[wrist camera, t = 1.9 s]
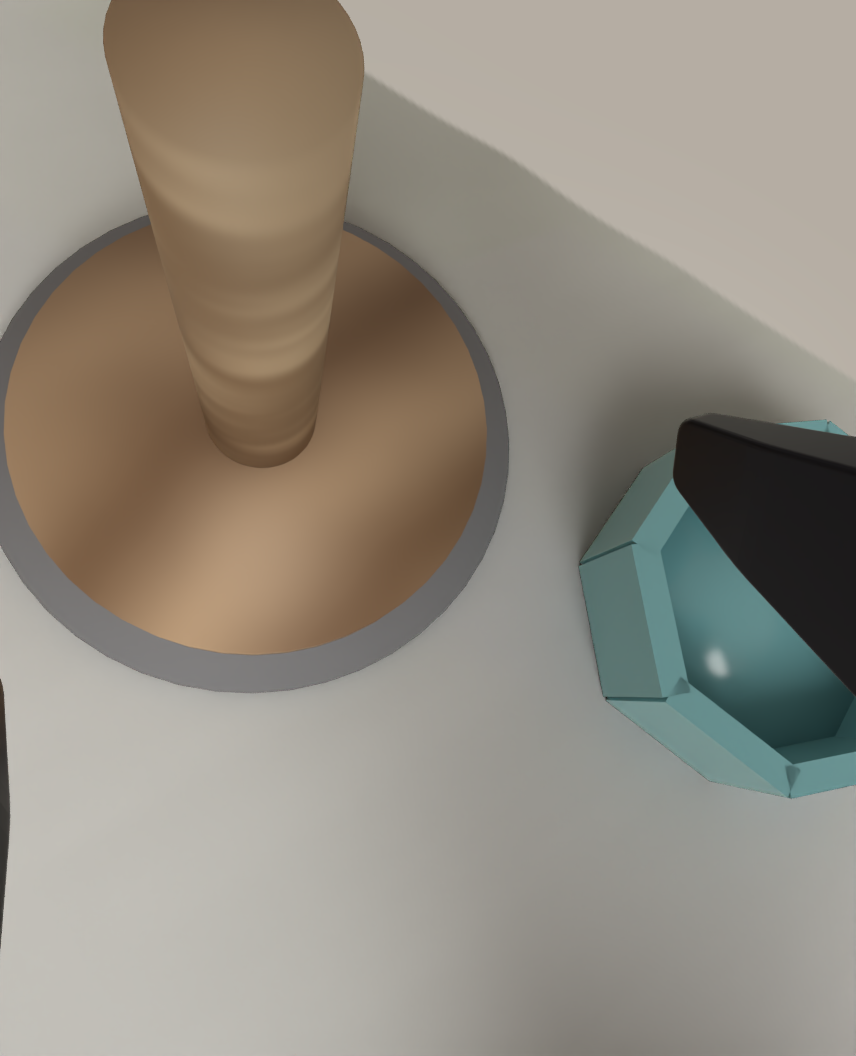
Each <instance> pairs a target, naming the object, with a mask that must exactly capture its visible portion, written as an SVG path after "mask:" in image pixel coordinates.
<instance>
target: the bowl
mask: <svg viewBox="0 0 856 1056" xmlns="http://www.w3.org/2000/svg"><path fill="white" fill-rule="evenodd" d="M778 424H781V425H787V426H793V427H799V428H805V429H811V430H817V431H823V432H829V433H835V434H841V435H847V434H846V433H845V432H843V431H842V430H841V429H840V428H838V427H837V426H836V425H835V424H833V423H832V422H831V421H829V422H827V420H815V421H803V422H790V423H778ZM847 436H848V435H847ZM675 450H676V448H675V449H673V450H672V451H670V452H668V453H667V454H665V455H663V456H662V457H660V458H659V459H657V460H655V461H654V462H652V463H650V464H649V465H647V466H645V467H644V468H643V469H642V470H641V472H640V473H639V475H638V476H637V478H636V479H635V481H634V482H633V484H632V485H631V487H630V488H629V490H628V491H627V492H626V494H625V495H624V497H623V498H622V500H621V501H620V503H619V504H618V506H617V507H616V509H615V510H614V512H613V513H612V515H611V516H610V518H609V519H608V521H607V522H606V524H605V525H604V527H603V528H602V530H601V531H600V533H599V534H598V535H597V537H596V538H595V540H594V541H593V543H592V544H591V546H590V547H589V549H588V550H587V552H586V553H585V555H584V556H583V558H582V559H581V561H580V563H581V564H582V565H580V566H579V570H580V576H581V581H582V586H583V592H584V597H585V602H586V607H587V613H588V618H589V623H590V629H591V634H592V639H593V644H594V650H595V655H596V660H597V666H598V671H599V676H600V682H601V687H602V692H603V697H607V699H606V701H607V702H608V703H610V704H611V705H612V706H613V707H615V708H616V709H617V710H619V711H620V712H621V713H622V714H624V715H625V716H626V717H628V718H629V719H630V720H631V721H633V722H634V723H635V724H637V725H638V726H639V727H640V728H642V729H643V730H644V731H646V732H647V733H648V734H649V735H651V736H652V737H653V738H655V739H656V740H657V741H658V742H660V743H661V744H662V745H664V746H665V747H666V748H667V749H669V750H670V751H671V752H673V753H674V754H675V755H676V756H678V757H679V758H680V759H682V760H683V761H684V762H685V763H687V764H688V765H689V766H691V767H692V768H693V769H694V770H696V771H697V772H698V773H700V774H701V775H702V776H703V777H705V778H706V779H707V780H709V781H712V782H715V783H720V784H725V785H730V786H735V787H739V788H744V789H749V790H754V791H758V792H763V793H768V794H773V795H777V796H782V797H787V798H797V797H801V796H806V795H811V794H815V793H820V792H824V791H829V790H834V789H838V788H843V787H847V786H852V785H856V697H855V696H854V695H853V694H852V693H851V692H850V691H849V689H848V688H847V687H846V686H845V685H844V684H843V683H842V682H841V681H840V680H839V679H838V678H837V676H836V675H835V674H834V673H833V672H832V671H831V670H830V669H829V668H828V667H827V666H826V665H825V664H824V662H823V661H822V660H821V659H820V658H819V657H818V656H817V655H816V654H815V653H814V652H813V651H812V649H811V648H810V647H809V646H808V645H807V644H806V643H805V642H804V641H803V640H802V639H801V638H800V637H799V635H798V634H797V633H796V632H795V631H794V630H793V629H792V628H791V627H790V626H789V625H788V624H787V622H786V621H785V620H784V619H783V618H782V617H781V616H780V615H779V614H778V613H777V612H776V611H775V610H774V608H773V607H772V606H771V605H770V604H769V603H768V602H767V601H766V600H765V599H764V598H763V597H762V595H761V594H760V593H759V592H758V591H757V590H756V589H755V588H754V587H753V586H752V585H751V584H750V583H749V581H748V580H747V579H746V578H745V577H744V576H743V575H742V574H741V572H740V571H739V570H738V569H737V568H736V567H735V565H734V564H733V563H732V562H731V560H730V559H729V558H728V557H727V555H726V554H725V553H724V551H723V550H722V549H721V547H720V546H719V545H718V543H717V542H716V541H715V539H714V538H713V537H712V535H711V534H710V533H709V531H708V530H707V529H706V527H705V526H704V525H703V523H702V522H701V521H700V519H699V518H698V517H697V515H696V514H695V513H694V511H693V510H692V509H691V507H690V506H689V505H688V503H687V502H686V501H685V499H684V498H683V497H682V495H681V494H680V493H679V491H678V490H677V488H676V486H675V484H674V480H673V465H674V457H675Z"/></svg>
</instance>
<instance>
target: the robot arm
mask: <svg viewBox="0 0 856 1056" xmlns="http://www.w3.org/2000/svg"><path fill="white" fill-rule="evenodd" d="M673 480H674V484H675V486H676V488H677V490H678V491H679V493H680V494H681V495H682V497H683V498H684V499H685V501H686V502H687V503H688V505H689V506H690V507H691V509H692V510H693V511H694V513H695V514H696V515H697V517H698V518H699V519H700V521H701V522H702V523H703V525H704V526H705V527H706V529H707V530H708V531H709V533H710V534H711V535H712V537H713V538H714V539H715V541H716V542H717V543H718V545H719V546H720V547H721V549H722V550H723V551H724V553H725V554H726V555H727V557H728V558H729V559H730V560H731V562H732V563H733V564H734V565H735V567H736V568H737V569H738V570H739V571H740V572H741V574H742V575H743V576H744V577H745V578H746V579H747V580H748V581H749V583H750V584H751V585H752V586H753V587H754V588H755V589H756V590H757V591H758V592H759V593H760V594H761V595H762V597H763V598H764V599H765V600H766V601H767V602H768V603H769V604H770V605H771V606H772V607H773V608H774V610H775V611H776V612H777V613H778V614H779V615H780V616H781V617H782V618H783V619H784V620H785V621H786V622H787V624H788V625H789V626H790V627H791V628H792V629H793V630H794V631H795V632H796V633H797V634H798V635H799V637H800V638H801V639H802V640H803V641H804V642H805V643H806V644H807V645H808V646H809V647H810V648H811V649H812V651H813V652H814V653H815V654H816V655H817V656H818V657H819V658H820V659H821V660H822V661H823V662H824V664H825V665H826V666H827V667H828V668H829V669H830V670H831V671H832V672H833V673H834V674H835V675H836V676H837V678H838V679H839V680H840V681H841V682H842V683H843V684H844V685H845V686H846V687H847V688H848V689H849V691H850V692H851V693H852V694H853V695H854V696H855V697H856V437H853V436H847V435H841V434H835V433H829V432H823V431H817V430H811V429H805V428H799V427H793V426H787V425H781V424H775V423H769V422H763V421H757V420H751V419H745V418H739V417H733V416H727V415H721V414H715V413H708V414H703V415H700V416H696V417H693V418H689V419H686V420H685V421H684V422H683V423H682V424H681V425H680V427H679V430H678V435H677V443H676V450H675V457H674V465H673ZM9 831H10V793H9V775H8V758H7V741H6V723H5V706H4V691H3V686H2V682H1V679H0V947H1V934H2V922H3V909H4V897H5V884H6V872H7V859H8V846H9Z"/></svg>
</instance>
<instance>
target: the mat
mask: <svg viewBox="0 0 856 1056" xmlns="http://www.w3.org/2000/svg"><path fill="white" fill-rule="evenodd" d="M150 224H151V222H150V219H149V215H147V216H144V217H141V218H138V219H136V220H134V221H132V222H129V223H127V224H125V225H122V226H120V227H118V228H115V229H113V230H111V231H109V232H107V233H106V234H104V235H102V236H101V237H99V238H97V239H96V240H94V241H92V242H90V243H89V244H87V245H85V246H84V247H82V248H81V249H79V250H78V251H77V252H76V253H74V254H73V255H72V256H70V257H69V258H68V259H67V260H65V261H64V262H63V263H61V264H60V265H59V266H58V267H56V268H55V269H54V270H53V271H52V272H51V273H50V274H49V275H48V276H47V277H46V278H45V279H44V280H43V281H42V282H41V283H40V285H39V286H38V287H37V288H36V289H35V290H34V291H33V292H32V293H31V294H30V296H29V297H28V298H27V300H26V301H25V302H24V304H23V305H22V306H21V308H20V309H19V310H18V312H17V313H16V315H15V316H14V317H13V319H12V320H11V322H10V324H9V326H8V328H7V330H6V331H5V333H4V335H3V337H2V339H1V341H0V545H1V547H2V549H3V551H4V553H5V555H6V556H7V558H8V559H9V561H10V563H11V564H12V566H13V567H14V569H15V571H16V572H17V574H18V575H19V577H20V579H21V580H22V582H23V583H24V584H25V585H26V587H27V588H28V589H29V590H30V591H31V592H32V594H33V595H34V596H35V597H36V598H37V600H38V601H39V602H40V603H41V604H42V605H43V607H44V608H45V609H46V610H47V611H48V612H49V613H50V614H51V615H52V616H54V617H55V618H56V619H57V620H58V621H59V622H60V623H62V624H63V625H64V626H65V627H66V628H67V629H68V630H70V631H71V632H72V633H73V634H74V635H75V636H77V637H78V638H80V639H81V640H83V641H84V642H86V643H87V644H89V645H90V646H92V647H93V648H95V649H96V650H98V651H99V652H101V653H103V654H104V655H106V656H107V657H109V658H111V659H113V660H115V661H118V662H120V663H122V664H124V665H126V666H128V667H130V668H132V669H134V670H136V671H139V672H141V673H143V674H146V675H150V676H153V677H156V678H159V679H162V680H165V681H168V682H171V683H174V684H178V685H183V686H188V687H194V688H200V689H205V690H211V691H218V692H240V693H261V692H273V691H284V690H293V689H297V688H302V687H306V686H311V685H316V684H320V683H325V682H328V681H331V680H334V679H337V678H339V677H342V676H345V675H348V674H350V673H353V672H356V671H359V670H361V669H363V668H365V667H367V666H369V665H371V664H373V663H375V662H377V661H379V660H380V659H382V658H384V657H386V656H388V655H390V654H392V653H393V652H395V651H396V650H398V649H399V648H401V647H402V646H403V645H405V644H406V643H408V642H409V641H411V640H412V639H413V638H415V637H416V636H418V635H419V634H420V633H421V632H422V631H424V630H425V629H426V628H427V627H428V626H429V625H430V624H431V623H432V622H433V621H435V620H436V619H437V618H438V617H439V616H440V615H441V614H442V613H443V612H444V611H445V610H446V609H447V608H448V606H449V605H450V604H451V603H452V602H453V600H454V599H455V598H456V597H457V596H458V594H459V593H460V592H461V591H462V590H463V588H464V587H465V586H466V584H467V583H468V581H469V579H470V578H471V576H472V575H473V573H474V571H475V570H476V568H477V567H478V565H479V563H480V562H481V560H482V558H483V556H484V554H485V552H486V550H487V547H488V545H489V543H490V541H491V538H492V536H493V534H494V532H495V529H496V525H497V522H498V519H499V515H500V512H501V509H502V505H503V502H504V496H505V490H506V483H507V477H508V463H509V437H508V428H507V419H506V411H505V407H504V403H503V399H502V395H501V390H500V386H499V382H498V380H497V377H496V375H495V372H494V369H493V367H492V364H491V362H490V359H489V356H488V354H487V352H486V350H485V348H484V347H483V345H482V343H481V341H480V339H479V337H478V335H477V333H476V332H475V330H474V328H473V327H472V325H471V324H470V322H469V321H468V319H467V318H466V317H465V315H464V314H463V312H462V311H461V309H460V308H459V307H458V305H457V304H456V303H455V301H454V300H453V299H452V298H451V297H450V296H449V295H448V294H447V293H446V291H445V290H444V289H443V288H442V287H441V286H440V285H439V284H438V282H437V281H436V280H434V279H433V278H432V277H431V276H430V275H429V274H428V273H427V272H425V271H424V270H423V269H422V268H421V267H420V266H419V265H418V264H416V263H415V262H414V261H413V260H411V259H410V258H409V257H407V256H406V255H404V254H403V253H402V252H400V251H399V250H397V249H396V248H394V247H393V246H392V245H390V244H389V243H387V242H385V241H383V240H381V239H380V238H378V237H376V236H374V235H372V234H370V233H369V232H367V231H365V230H363V229H361V228H359V227H357V226H354V225H352V224H349V223H347V222H344V223H343V230H344V231H346V232H349V233H351V234H353V235H355V236H357V237H359V238H361V239H362V240H364V241H366V242H368V243H370V244H372V245H373V246H375V247H377V248H378V249H380V250H381V251H383V252H384V253H386V254H387V255H388V256H390V257H391V258H393V259H394V260H396V261H397V262H398V263H400V264H401V265H402V266H403V267H404V268H406V269H407V270H408V271H409V272H410V273H411V274H412V275H413V276H415V277H416V278H417V279H418V280H419V281H420V282H421V283H422V284H423V285H424V286H425V287H426V288H427V289H428V291H429V292H430V293H431V294H432V295H433V296H434V297H435V298H436V300H437V301H438V302H439V303H440V304H441V306H442V307H443V309H444V310H445V311H446V313H447V314H448V316H449V317H450V319H451V320H452V322H453V323H454V324H455V326H456V328H457V330H458V332H459V333H460V335H461V337H462V339H463V341H464V343H465V345H466V347H467V349H468V351H469V353H470V356H471V359H472V361H473V364H474V367H475V369H476V372H477V375H478V378H479V382H480V387H481V391H482V395H483V399H484V406H485V415H486V425H487V442H486V459H485V466H484V472H483V478H482V483H481V487H480V490H479V493H478V496H477V500H476V503H475V506H474V509H473V512H472V514H471V516H470V518H469V520H468V522H467V525H466V527H465V529H464V531H463V533H462V535H461V537H460V538H459V540H458V542H457V543H456V545H455V546H454V548H453V549H452V551H451V552H450V554H449V555H448V557H447V559H446V560H445V561H444V562H443V564H442V565H441V566H440V567H439V568H438V569H437V571H436V572H435V573H434V574H433V575H432V576H431V578H430V579H429V580H428V581H427V582H426V583H425V584H424V585H423V586H422V587H421V588H419V589H418V590H417V591H416V592H415V593H414V594H413V595H412V596H411V597H409V598H408V599H407V600H406V601H405V602H404V603H402V604H401V605H399V606H398V607H397V608H395V609H394V610H392V611H391V612H389V613H388V614H386V615H385V616H383V617H382V618H380V619H379V620H377V621H376V622H374V623H373V624H371V625H369V626H367V627H365V628H363V629H361V630H359V631H357V632H355V633H353V634H351V635H349V636H347V637H344V638H341V639H338V640H335V641H332V642H329V643H326V644H324V645H321V646H318V647H313V648H308V649H303V650H299V651H294V652H289V653H280V654H266V655H239V654H222V653H217V652H211V651H206V650H201V649H195V648H190V647H187V646H184V645H181V644H178V643H175V642H172V641H169V640H166V639H163V638H160V637H157V636H155V635H153V634H151V633H149V632H147V631H144V630H142V629H140V628H138V627H136V626H134V625H132V624H130V623H128V622H126V621H124V620H122V619H120V618H119V617H117V616H116V615H114V614H113V613H111V612H110V611H108V610H107V609H105V608H104V607H102V606H101V605H99V604H98V603H96V602H95V601H93V600H92V599H91V598H90V597H89V596H87V595H86V594H85V593H84V592H83V591H82V590H81V589H79V588H78V587H77V586H76V585H75V584H74V583H73V582H72V581H70V580H69V579H68V578H67V577H66V575H65V574H64V573H63V572H62V571H61V570H60V568H59V567H58V566H57V565H56V564H55V563H54V561H53V560H52V559H51V558H50V557H49V556H48V554H47V553H46V552H45V550H44V549H43V547H42V545H41V544H40V542H39V541H38V539H37V537H36V536H35V534H34V533H33V531H32V530H31V528H30V526H29V525H28V522H27V520H26V518H25V516H24V513H23V511H22V509H21V506H20V504H19V502H18V500H17V497H16V495H15V491H14V488H13V484H12V480H11V477H10V473H9V469H8V465H7V458H6V449H5V440H4V413H5V399H6V394H7V389H8V384H9V379H10V373H11V370H12V367H13V364H14V362H15V359H16V356H17V353H18V350H19V347H20V345H21V342H22V340H23V339H24V337H25V335H26V333H27V331H28V329H29V327H30V325H31V323H32V322H33V320H34V318H35V316H36V315H37V313H38V312H39V311H40V309H41V308H42V306H43V305H44V304H45V302H46V301H47V300H48V298H49V297H50V295H51V294H52V293H53V292H54V291H55V289H56V288H57V287H58V286H59V285H60V284H61V283H62V282H63V281H64V280H65V279H66V278H67V277H68V276H69V275H70V274H71V273H72V272H73V271H74V270H75V269H76V268H78V267H79V266H80V265H81V264H83V263H84V262H85V261H87V260H88V259H89V258H90V257H92V256H93V255H94V254H95V253H97V252H98V251H100V250H101V249H103V248H105V247H106V246H108V245H110V244H111V243H113V242H115V241H116V240H118V239H120V238H121V237H123V236H125V235H128V234H130V233H132V232H134V231H137V230H139V229H141V228H143V227H146V226H148V225H150Z"/></svg>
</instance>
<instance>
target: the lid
mask: <svg viewBox="0 0 856 1056" xmlns="http://www.w3.org/2000/svg"><path fill="white" fill-rule="evenodd" d="M103 44H104V51H105V57H106V61H107V65H108V68H109V72H110V76H111V79H112V83H113V87H114V90H115V94H116V98H117V101H118V105H119V109H120V112H121V116H122V120H123V123H124V127H125V131H126V134H127V138H128V142H129V145H130V149H131V153H132V156H133V160H134V164H135V167H136V171H137V175H138V178H139V182H140V186H141V189H142V193H143V197H144V200H145V204H146V208H147V211H148V215H149V219H150V222H151V224H150V225H148V226H146V227H143V228H141V229H139V230H137V231H134V232H132V233H130V234H128V235H125V236H123V237H121V238H120V239H118V240H116V241H115V242H113V243H111V244H110V245H108V246H106V247H105V248H103V249H101V250H100V251H98V252H97V253H95V254H94V255H93V256H92V257H90V258H89V259H88V260H87V261H85V262H84V263H83V264H81V265H80V266H79V267H78V268H76V269H75V270H74V271H73V272H72V273H71V274H70V275H69V276H68V277H67V278H66V279H65V280H64V281H63V282H62V283H61V284H60V285H59V286H58V287H57V288H56V289H55V291H54V292H53V293H52V294H51V295H50V297H49V298H48V300H47V301H46V302H45V304H44V305H43V306H42V308H41V309H40V311H39V312H38V313H37V315H36V316H35V318H34V320H33V322H32V323H31V325H30V327H29V329H28V331H27V333H26V335H25V337H24V339H23V340H22V342H21V345H20V347H19V350H18V353H17V356H16V359H15V362H14V364H13V367H12V370H11V373H10V379H9V384H8V389H7V394H6V399H5V413H4V440H5V449H6V458H7V465H8V469H9V473H10V477H11V480H12V484H13V488H14V491H15V495H16V497H17V500H18V502H19V504H20V506H21V509H22V511H23V513H24V516H25V518H26V520H27V522H28V525H29V526H30V528H31V530H32V531H33V533H34V534H35V536H36V537H37V539H38V541H39V542H40V544H41V545H42V547H43V549H44V550H45V552H46V553H47V554H48V556H49V557H50V558H51V559H52V560H53V561H54V563H55V564H56V565H57V566H58V567H59V568H60V570H61V571H62V572H63V573H64V574H65V575H66V577H67V578H68V579H69V580H70V581H72V582H73V583H74V584H75V585H76V586H77V587H78V588H79V589H81V590H82V591H83V592H84V593H85V594H86V595H87V596H89V597H90V598H91V599H92V600H93V601H95V602H96V603H98V604H99V605H101V606H102V607H104V608H105V609H107V610H108V611H110V612H111V613H113V614H114V615H116V616H117V617H119V618H120V619H122V620H124V621H126V622H128V623H130V624H132V625H134V626H136V627H138V628H140V629H142V630H144V631H147V632H149V633H151V634H153V635H155V636H157V637H160V638H163V639H166V640H169V641H172V642H175V643H178V644H181V645H184V646H187V647H190V648H195V649H201V650H206V651H211V652H217V653H222V654H239V655H266V654H280V653H289V652H294V651H299V650H303V649H308V648H313V647H318V646H321V645H324V644H326V643H329V642H332V641H335V640H338V639H341V638H344V637H347V636H349V635H351V634H353V633H355V632H357V631H359V630H361V629H363V628H365V627H367V626H369V625H371V624H373V623H374V622H376V621H377V620H379V619H380V618H382V617H383V616H385V615H386V614H388V613H389V612H391V611H392V610H394V609H395V608H397V607H398V606H399V605H401V604H402V603H404V602H405V601H406V600H407V599H408V598H409V597H411V596H412V595H413V594H414V593H415V592H416V591H417V590H418V589H419V588H421V587H422V586H423V585H424V584H425V583H426V582H427V581H428V580H429V579H430V578H431V576H432V575H433V574H434V573H435V572H436V571H437V569H438V568H439V567H440V566H441V565H442V564H443V562H444V561H445V560H446V559H447V557H448V555H449V554H450V552H451V551H452V549H453V548H454V546H455V545H456V543H457V542H458V540H459V538H460V537H461V535H462V533H463V531H464V529H465V527H466V525H467V522H468V520H469V518H470V516H471V514H472V512H473V509H474V506H475V503H476V500H477V496H478V493H479V490H480V487H481V483H482V478H483V472H484V466H485V459H486V442H487V425H486V415H485V406H484V399H483V395H482V391H481V387H480V382H479V378H478V375H477V372H476V369H475V367H474V364H473V361H472V359H471V356H470V353H469V351H468V349H467V347H466V345H465V343H464V341H463V339H462V337H461V335H460V333H459V332H458V330H457V328H456V326H455V324H454V323H453V322H452V320H451V319H450V317H449V316H448V314H447V313H446V311H445V310H444V309H443V307H442V306H441V304H440V303H439V302H438V301H437V300H436V298H435V297H434V296H433V295H432V294H431V293H430V292H429V291H428V289H427V288H426V287H425V286H424V285H423V284H422V283H421V282H420V281H419V280H418V279H417V278H416V277H415V276H413V275H412V274H411V273H410V272H409V271H408V270H407V269H406V268H404V267H403V266H402V265H401V264H400V263H398V262H397V261H396V260H394V259H393V258H391V257H390V256H388V255H387V254H386V253H384V252H383V251H381V250H380V249H378V248H377V247H375V246H373V245H372V244H370V243H368V242H366V241H364V240H362V239H361V238H359V237H357V236H355V235H353V234H351V233H349V232H346V231H344V230H343V223H344V216H345V209H346V202H347V195H348V188H349V180H350V173H351V166H352V159H353V152H354V144H355V137H356V130H357V123H358V116H359V109H360V101H361V94H362V87H363V79H364V57H363V51H362V47H361V42H360V39H359V37H358V34H357V31H356V29H355V27H354V25H353V23H352V21H351V20H350V17H349V16H348V14H347V13H346V11H345V10H344V9H343V7H342V6H341V4H340V3H339V2H338V1H337V0H111V2H110V5H109V8H108V10H107V13H106V17H105V23H104V28H103Z"/></svg>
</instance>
